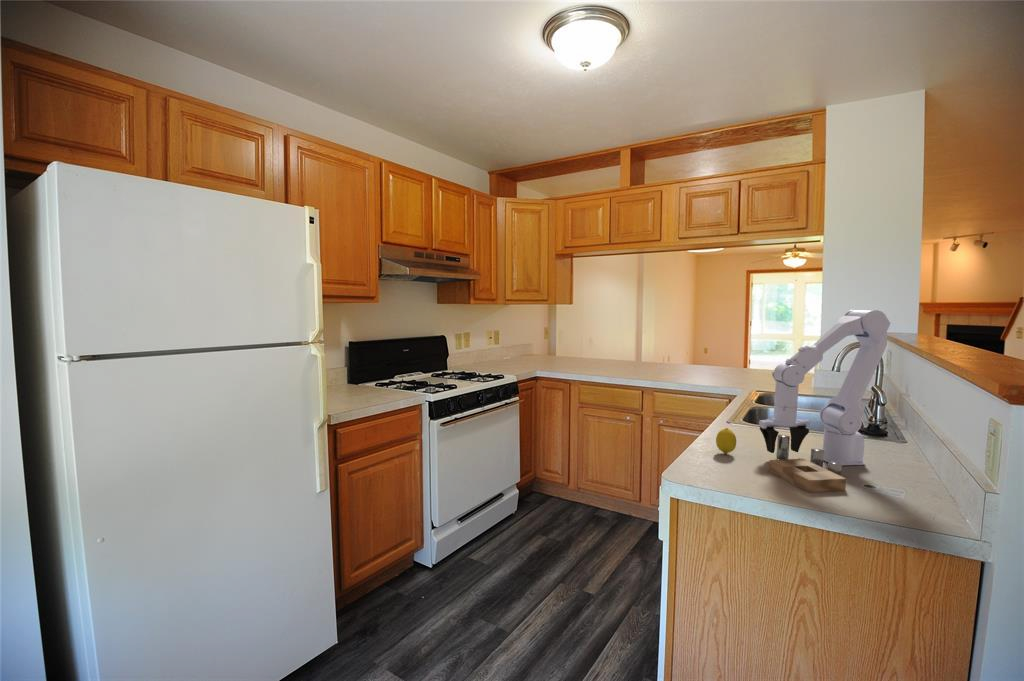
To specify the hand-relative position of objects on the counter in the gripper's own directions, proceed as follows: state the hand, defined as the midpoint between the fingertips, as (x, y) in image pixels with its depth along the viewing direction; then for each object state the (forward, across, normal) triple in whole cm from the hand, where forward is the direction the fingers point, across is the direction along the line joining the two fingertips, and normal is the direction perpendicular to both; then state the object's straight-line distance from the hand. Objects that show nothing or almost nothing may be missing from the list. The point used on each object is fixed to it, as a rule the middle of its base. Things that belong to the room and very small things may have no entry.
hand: (782, 451), depth 134 cm
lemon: (+3, +14, -6) cm, 15 cm away
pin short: (+2, -5, +13) cm, 14 cm away
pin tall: (+2, 0, 0) cm, 2 cm away
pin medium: (+2, -5, +7) cm, 9 cm away
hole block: (+2, +5, +15) cm, 16 cm away
